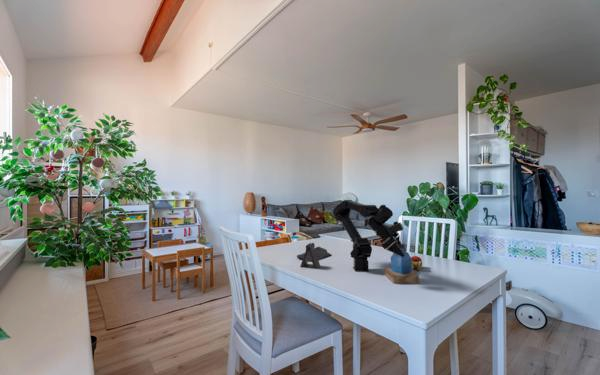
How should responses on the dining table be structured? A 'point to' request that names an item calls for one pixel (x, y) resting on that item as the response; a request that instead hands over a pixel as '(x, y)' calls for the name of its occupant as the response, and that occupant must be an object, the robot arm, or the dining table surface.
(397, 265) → the perfume bottle
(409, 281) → the walnut plinth
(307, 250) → the phone stand
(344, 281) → the dining table surface
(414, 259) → the kendama
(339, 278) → the dining table surface
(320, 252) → the stegosaurus figurine
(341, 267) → the dining table surface
